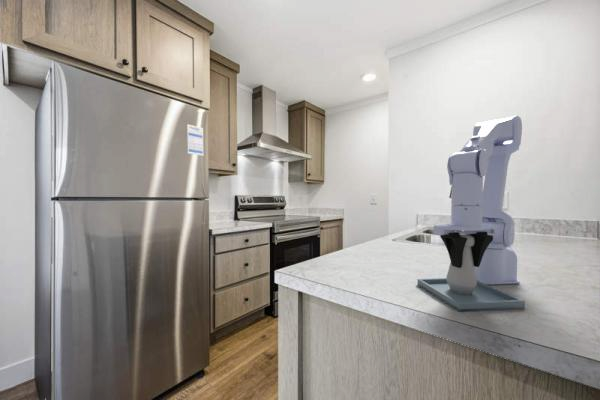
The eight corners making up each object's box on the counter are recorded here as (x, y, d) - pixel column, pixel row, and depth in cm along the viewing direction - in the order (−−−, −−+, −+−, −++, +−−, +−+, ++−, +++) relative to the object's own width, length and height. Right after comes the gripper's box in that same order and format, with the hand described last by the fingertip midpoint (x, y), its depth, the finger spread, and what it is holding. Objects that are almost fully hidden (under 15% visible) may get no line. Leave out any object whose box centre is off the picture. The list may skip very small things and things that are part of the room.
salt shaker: (480, 298, 52) (483, 238, 52) (450, 294, 54) (452, 236, 53) (470, 288, 58) (472, 233, 57) (442, 284, 60) (445, 231, 59)
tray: (469, 282, 63) (469, 277, 63) (524, 308, 49) (524, 300, 49) (417, 285, 61) (417, 279, 61) (459, 311, 47) (459, 304, 47)
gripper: (479, 204, 60) (478, 260, 60) (425, 204, 57) (424, 262, 58) (508, 205, 53) (506, 268, 53) (447, 206, 50) (446, 271, 51)
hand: (465, 266), depth 55 cm, fingers closed on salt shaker, 4 cm apart
